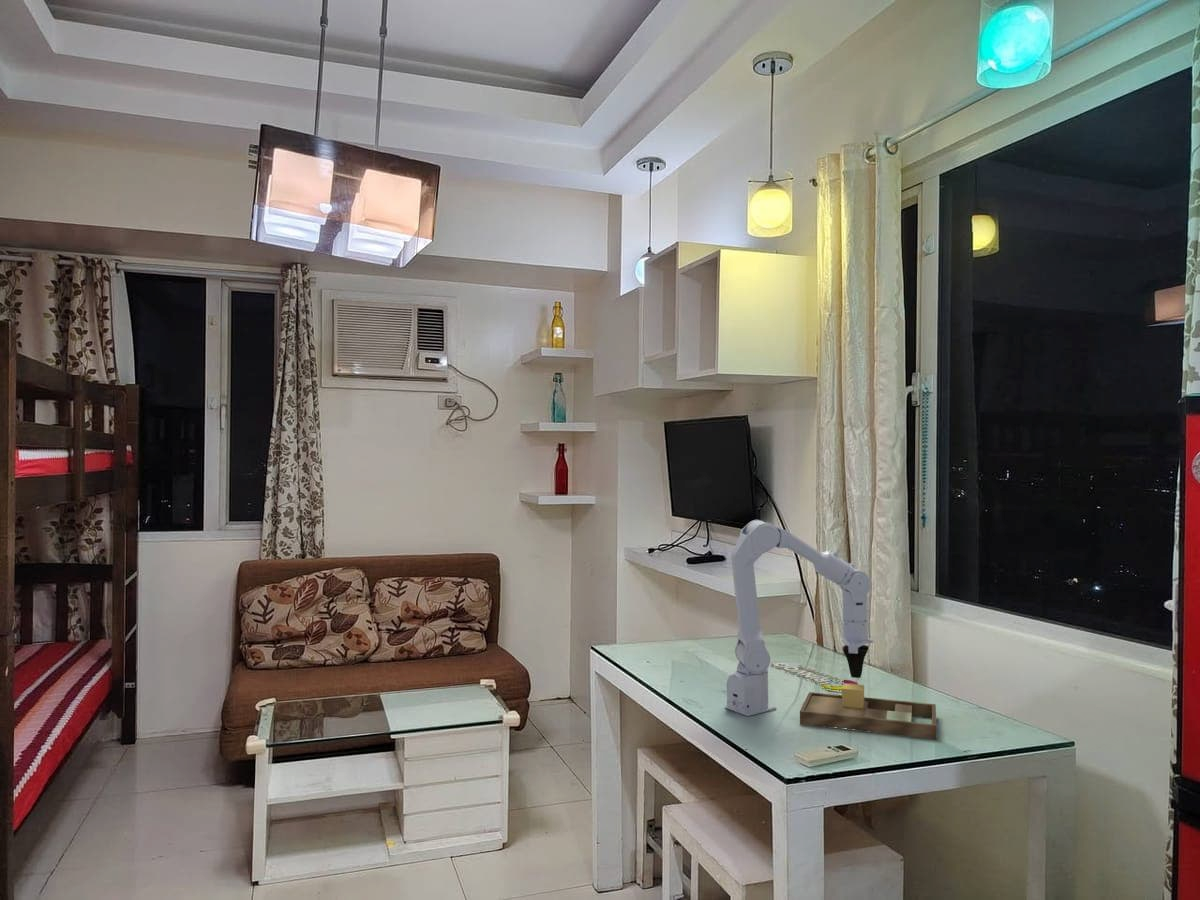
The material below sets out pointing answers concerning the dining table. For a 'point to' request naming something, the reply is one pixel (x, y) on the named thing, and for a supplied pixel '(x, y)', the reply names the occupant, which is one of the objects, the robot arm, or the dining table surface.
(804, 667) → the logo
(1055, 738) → the dining table surface
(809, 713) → the tray
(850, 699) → the block
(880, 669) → the dining table surface
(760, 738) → the dining table surface
